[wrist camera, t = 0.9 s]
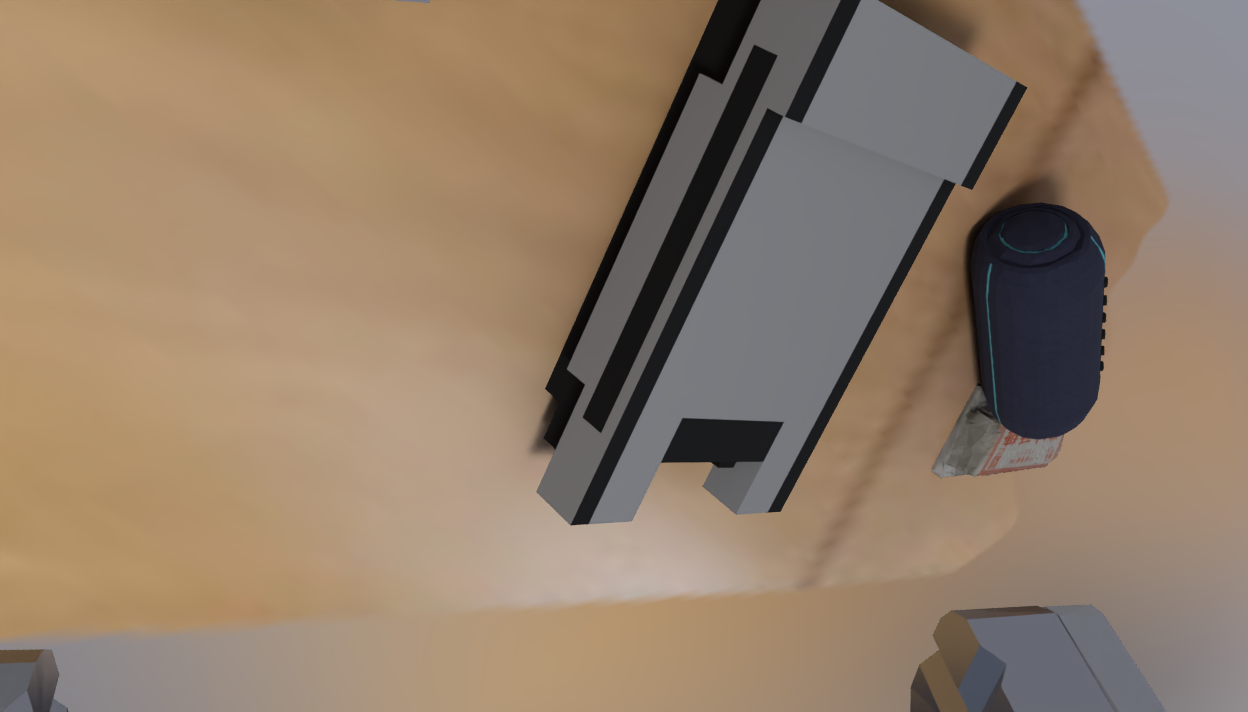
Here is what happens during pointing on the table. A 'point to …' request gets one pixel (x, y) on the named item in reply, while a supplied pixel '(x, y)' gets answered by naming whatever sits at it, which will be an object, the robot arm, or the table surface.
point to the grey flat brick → (425, 0)
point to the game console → (763, 249)
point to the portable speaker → (1039, 317)
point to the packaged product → (990, 445)
